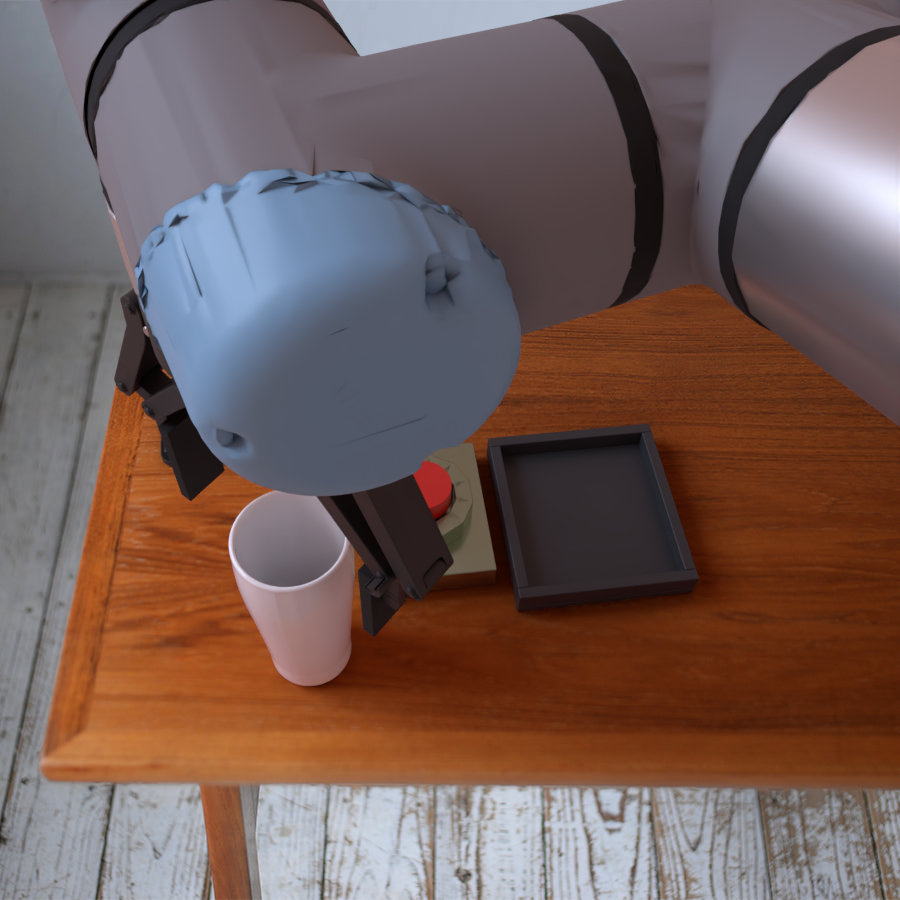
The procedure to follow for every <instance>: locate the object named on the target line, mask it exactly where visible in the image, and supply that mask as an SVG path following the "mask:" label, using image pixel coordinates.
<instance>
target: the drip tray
mask: <svg viewBox="0 0 900 900" xmlns="http://www.w3.org/2000/svg"><path fill="white" fill-rule="evenodd" d="M659 453H660V452H659V450H658V447H657V444H656V441H655V438H654V435H653V432H652V429H651V425H650V423H639V424H638V423H637V424H628V425H616V426H607V427H596V428H585V429H575V430H564V431H563V430H562V431H552V432H542V433H541V432H540V433H532V434H521V435H520V434H518V435H509V436H498V437H488V438H487V448H486V459H487V464H488V468H489V475H490V479H491V484H492V485H491V486H492V489H493V495H494V500H495V505H496V510H497V514H498V520H499V525H500V531H501V537H502V540H503V546H504V550H505V556H506V559H507V560H506V561H507V566H508V571H509V576H510V581H511V586H512V591H513V597H514V601H515V602H514V603H515V608H516V611H517V613H521V612H531V611H538V610H547V609H548V610H549V609H557V608H565V607H574V606H575V607H577V606H583V605H593V604H602V603H608V602H609V603H610V602H620V601H628V600H636V599H637V600H639V599H646V598H655V597H665V596H673V595H674V596H675V595H682V594H683V595H684V594H690V593H693V592H694V590H695V588H696V586H697V584H698V582H699V580H700V576H699V574H698V571H697V569H696V568H697V567H696V564H695V562H694V558H693V555H692V553H691V549H690V546H689V543H688V540H687V537H686V534H685V530H684V527H683V524H682V521H681V518H680V515H679V513H678V512H679V511H678V509H677V505H676V503H675V500H674V496H673V493H672V491H671V487H670V484H669V481H668V478H667V475H666V472H665V469H664V465H663V462H662V459H661V456H660V454H659Z"/></svg>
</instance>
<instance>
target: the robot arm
mask: <svg viewBox="0 0 900 900" xmlns="http://www.w3.org/2000/svg"><path fill="white" fill-rule="evenodd" d="M39 1H40V4H41V7H42V10H43V13H44V17H45V20H46V23H47V25H48V28H49V32H50V34H51V38H52V41H53V44H54V47H55V51H56V53H57V57H58V60H59V63H60V66H61V68H62V69H61V70H62V72H63V75H64V78H65V82H66V84H67V87H68V90H69V92H70V96H71V99H72V101H73V104H74V107H75V109H76V112H77V116H78V119H79V122H80V124H81V127H82V129H83V130H82V131H83V134H84V135H85V138H86V140H87V144H88V147H89V150H90V152H91V155H92V157H93V160H94V164H95V166H96V169H97V171H98V176H99V177H98V178H99V182H100V185H101V189H102V194H103V198H104V202H105V206H106V208H107V213H108V215H109V219H110V221H111V223H112V227H113V230H114V233H115V236H116V239H117V244H118V246H119V250H120V253H121V256H122V259H123V262H124V265H125V269H126V273H127V274H128V278H129V280H130V283H131V285H132V289H130V290H129V291H128V292H126V293H125V294H124V295H122V296H121V297H120V298H119V299H120V300H119V301H120V305H121V309H122V314H123V316H124V317H123V318H124V321H125V330H124V334H123V338H122V343H121V348H120V352H119V356H118V360H117V365H116V368H115V373H114V378H113V381H114V383H115V386H116V388H117V389H118V391H120V392H121V393H123V394H124V395H125V396H128V397H131V396H132V395H133V394H134V393H137V394H138V396H140V397H141V398H142V399H143V401H141V403H140V405H141V408H142V410H143V412H144V414H145V415H146V416H147V417H148V418H150V419H152V420H153V421H155V422H156V425H157V429H158V432H159V435H160V439H161V438H162V440H163V443H164V446H165V449H166V452H167V454H168V457H169V460H170V463H171V466H170V467H171V469H172V471H173V474H174V477H175V480H176V482H177V485H178V488H179V491H180V494H181V495H182V496H183V497H185V498H186V499H187V500H188V501H190V502H192V501H193V500H194V499H195V498H196V497H197V496H199V495H200V494H201V493H202V492H203V491H204V490H205V489H207V488H208V487H209V486H210V485H211V484H212V483H213V482H214V481H216V479H217V478H219V476H221V475H222V474H223V473H224V472H225V467H224V466H226V467H227V468H228V469H229V470H231V471H232V472H233V473H235V474H236V475H238V476H240V477H241V478H243V479H244V480H246V481H249V482H250V483H253V484H255V485H256V486H259V487H263V488H266V489H270V490H272V491H275V490H276V491H280V492H285V493H289V494H296V495H303V496H316V497H317V498H318V499H319V501H320V502H321V503H322V505H323V506H324V508H325V509H326V510H327V512H328V513H329V514H330V516H331V517H332V519H333V520H334V521H335V523H336V524H337V526H338V527H339V528H340V530H341V531H342V532H343V534H344V535H345V537H346V538H347V539H348V541H349V542H350V543H351V545H352V546H353V550H355V552H356V553H357V554H358V555H359V558H360V559H361V560H362V562H363V564H362V565H361V566H360V567H359V569H358V570H357V577H358V587H359V599H360V600H359V601H360V610H361V620H362V630H363V631H364V632H366V633H367V634H368V635H370V636H371V637H372V638H375V637H376V636H377V635H379V634H378V633H380V631H382V629H383V628H384V627H385V626H386V625H387V623H389V622H390V620H391V619H392V618H393V617H394V615H396V613H397V612H398V611H399V610H400V609H401V608H402V607H403V606H404V604H405V603H406V602H407V599H408V598H411V599H412V600H414V601H416V602H421V601H422V600H423V599H424V598H425V597H426V596H427V595H428V594H429V592H431V591H430V590H431V589H432V588H433V586H434V585H435V584H436V583H437V582H438V581H439V579H440V578H441V577H442V576H443V575H444V574H445V573H446V571H447V570H448V569H449V568H450V567H451V566H452V565H453V563H454V560H453V557H452V555H451V553H450V551H449V549H448V547H447V545H446V543H445V541H444V538H443V536H442V534H441V532H440V530H439V528H438V526H437V524H436V522H435V519H434V517H433V515H432V513H431V511H430V509H429V507H428V505H427V503H426V500H425V498H424V496H423V494H422V492H421V490H420V488H419V486H418V484H417V481H416V479H415V477H414V475H413V474H414V473H416V472H417V471H418V470H419V469H420V468H421V465H422V462H423V461H424V459H425V458H426V457H428V456H429V455H431V454H433V453H434V452H436V451H437V450H439V449H444V448H450V447H457V446H459V445H460V444H461V443H465V441H466V440H468V439H469V438H471V436H473V435H474V434H475V433H476V432H477V431H478V430H479V429H481V427H482V426H483V425H484V424H485V423H486V422H487V420H488V419H489V418H490V417H491V416H492V414H493V413H494V412H495V411H496V410H497V408H498V407H499V405H500V404H501V403H502V401H503V399H504V398H505V396H506V394H507V392H508V390H509V388H510V387H511V385H512V382H513V380H514V377H515V375H516V372H517V369H518V367H519V363H520V358H521V351H522V348H521V347H522V336H524V335H527V334H530V333H534V332H537V331H541V330H544V329H547V328H550V327H554V326H557V325H560V324H564V323H568V322H570V321H573V320H577V319H580V318H583V317H587V316H590V315H593V314H597V313H599V312H602V311H604V310H607V309H610V308H614V307H617V306H622V305H624V304H627V303H631V302H635V301H638V300H640V299H641V300H642V299H644V298H648V297H651V296H654V295H659V294H661V293H665V292H669V291H672V290H676V289H680V288H683V287H686V286H689V285H697V286H698V285H699V286H704V287H706V288H710V290H712V291H713V292H715V293H716V294H717V295H719V296H720V297H721V298H722V299H723V300H725V301H726V302H728V303H729V304H730V305H732V306H733V307H734V308H736V309H737V311H740V312H741V313H742V314H744V315H745V316H746V317H748V319H750V320H752V321H753V322H754V323H755V324H757V325H759V326H760V327H762V328H764V329H766V330H768V331H770V332H772V333H774V334H775V335H777V336H778V338H780V339H782V340H783V341H785V343H787V344H789V346H791V347H792V348H794V349H795V350H796V351H798V352H799V353H801V354H802V355H803V356H804V357H806V358H807V359H808V360H810V361H811V362H813V363H814V364H815V365H816V366H817V367H819V368H820V369H822V370H823V371H825V372H826V373H827V374H828V375H830V376H831V377H832V378H833V379H834V380H836V381H838V383H840V384H842V385H843V387H846V389H848V390H850V392H852V393H853V394H855V395H856V396H858V397H859V398H860V399H861V400H863V401H864V402H866V404H868V405H870V406H871V407H873V409H875V410H876V411H877V412H879V413H880V414H881V415H883V416H884V417H886V418H887V419H888V420H890V421H891V422H892V423H893V424H895V425H896V426H897V427H899V428H900V0H618V1H614V2H609V3H604V4H600V5H595V6H591V7H587V8H583V9H578V10H573V11H569V12H564V13H561V14H554V15H549V16H545V17H540V18H536V19H532V20H530V21H523V22H519V23H515V24H510V25H504V26H500V27H495V28H489V29H484V30H478V31H475V32H470V33H465V34H460V35H456V36H450V37H446V38H440V39H435V40H431V41H426V42H419V43H415V44H411V45H407V46H402V47H398V48H393V49H389V50H384V51H379V52H376V53H371V54H367V55H360V53H358V51H357V49H356V48H355V46H354V45H353V43H352V42H351V40H350V39H349V37H348V36H347V34H346V32H345V30H343V28H342V26H341V25H340V23H339V22H338V21H337V20H336V18H335V17H334V16H333V15H334V14H332V12H331V10H330V9H329V7H328V6H327V4H326V2H325V1H324V0H39ZM163 370H164V371H165V372H164V371H163Z"/></svg>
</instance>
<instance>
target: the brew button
mask: <svg viewBox="0 0 900 900" xmlns="http://www.w3.org/2000/svg"><path fill="white" fill-rule="evenodd" d="M413 475H414V477H415V479H416V481H417V484H418V486H419V488H420V490H421V492H422V494H423V496H424V498H425V500H426V503H427V505H428V507H429V509H430V511H431V513H432V515H433V517H434V519H438V518H439V517H441V516H442V515H443V514H444V513H445V512H446V511H447V510H448V508H449V506H450V503H451V491H452V482H451V478H450V476H449V474H448V473H447V471H446V470H445V469H444V468H442V467H441V466H439V465H438V464H435V463H433V462H428V461H423V462H422V465H421V468H420V469H419V470H418V471H417V472H416V473H414V474H413Z"/></svg>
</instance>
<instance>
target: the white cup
mask: <svg viewBox="0 0 900 900" xmlns="http://www.w3.org/2000/svg"><path fill="white" fill-rule="evenodd" d="M227 544H228V552H229V558H230V563H231V567H232V572H233V576H234V579H235V583H236V585H237V589H238V591H239V594H240V596H241V598H242V599H241V600H242V601H243V604H244V605H245V607H246V610H247V611H248V613H249V615H250V616H251V619H252V621H253V623H254V625H255V626H256V628H257V630H258V632H259V634H260V636H261V638H262V641H263V642H264V644H265V646H266V648H267V650H268V652H269V655H270V658H271V661H272V663H273V666H274V667H275V670H277V672H278V673H279V675H281V677H282V678H284V679H285V680H286V681H288V682H290V683H292V684H294V685H297V686H302V687H316V686H322V685H323V684H326V683H328V682H330V681H332V680H334V679H335V678H336V677H338V676H339V675H340V674H341V673H342V672H343V671H344V669H345V668H346V666H347V664H348V662H349V660H350V658H351V654H352V649H353V648H352V646H353V643H352V621H353V620H352V619H353V608H354V607H353V606H354V593H355V581H356V579H355V578H356V563H355V562H356V561H355V553H354V548H353V546H352V545H351V543H350V542H349V541H348V539H347V538H346V537H345V535H344V534H343V532H342V531H341V530H340V528H339V527H338V526H337V524H336V523H335V521H334V520H333V519H332V517H331V516H330V514H329V513H328V512H327V510H326V509H325V508H324V506H323V505H322V503H321V502H320V501H319V499H318V498H317V497H316V496H303V495H296V494H289V493H285V492H280V491H276V490H272V491H269V492H267V493H264V494H261V495H260V496H258V497H256V498H255V499H253V500H252V501H251V502H249V503H248V504H247V505H245V507H243V509H242V510H241V511H240V512H239V514H238V515H237V516H236V517H235V519H234V522H233V523H232V525H231V528H230V532H229V536H228V543H227Z"/></svg>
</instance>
